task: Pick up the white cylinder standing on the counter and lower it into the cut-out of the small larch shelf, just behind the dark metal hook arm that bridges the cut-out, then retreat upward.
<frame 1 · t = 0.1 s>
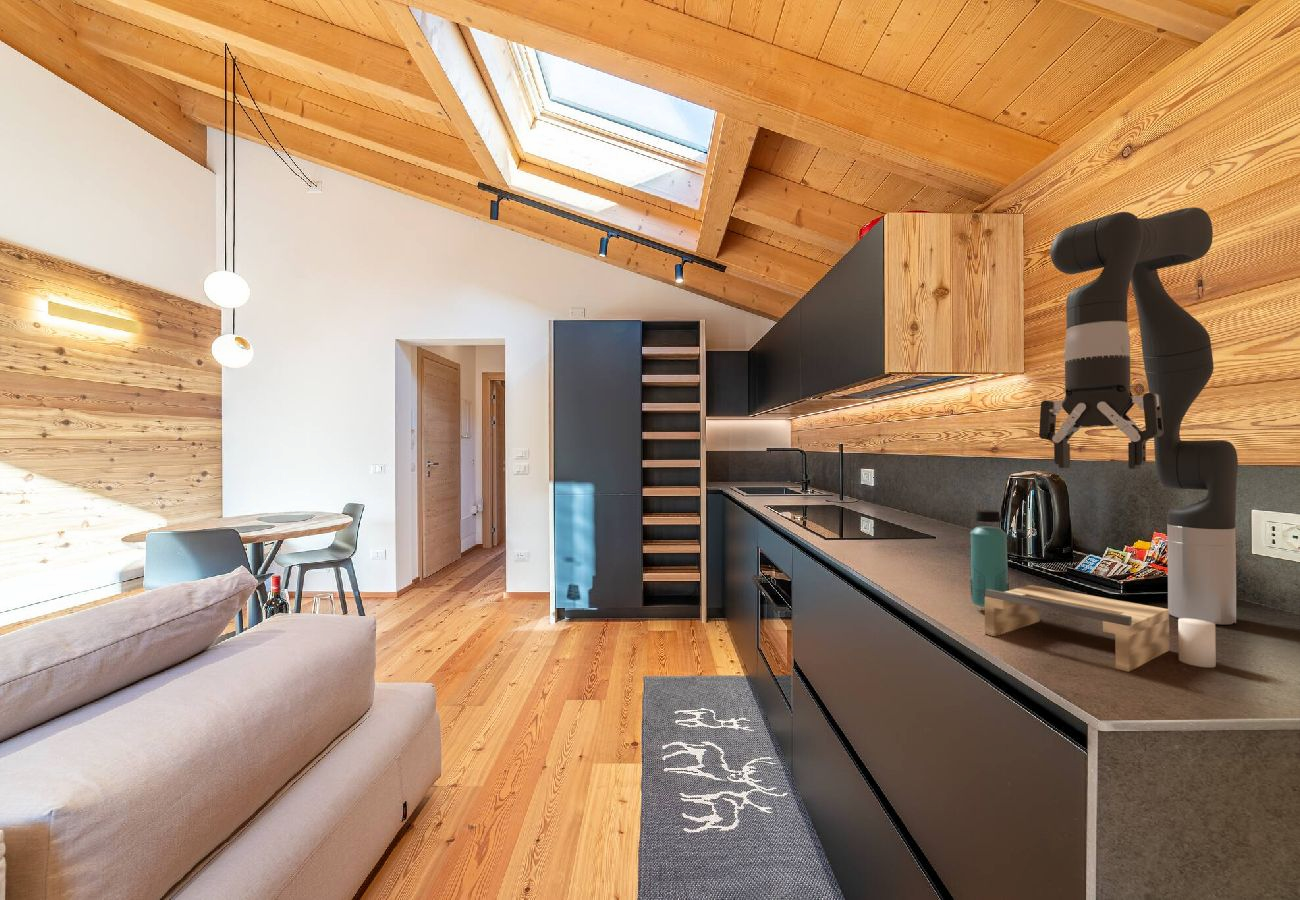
hand: (1097, 468, 83), 29 cm above the worktop, tool pointing down, fingers open, 8 cm apart
beverage bottle: (989, 612, 113), on the worktop
white cylinder: (1196, 662, 85), on the worktop
shelf: (1073, 642, 95), on the worktop
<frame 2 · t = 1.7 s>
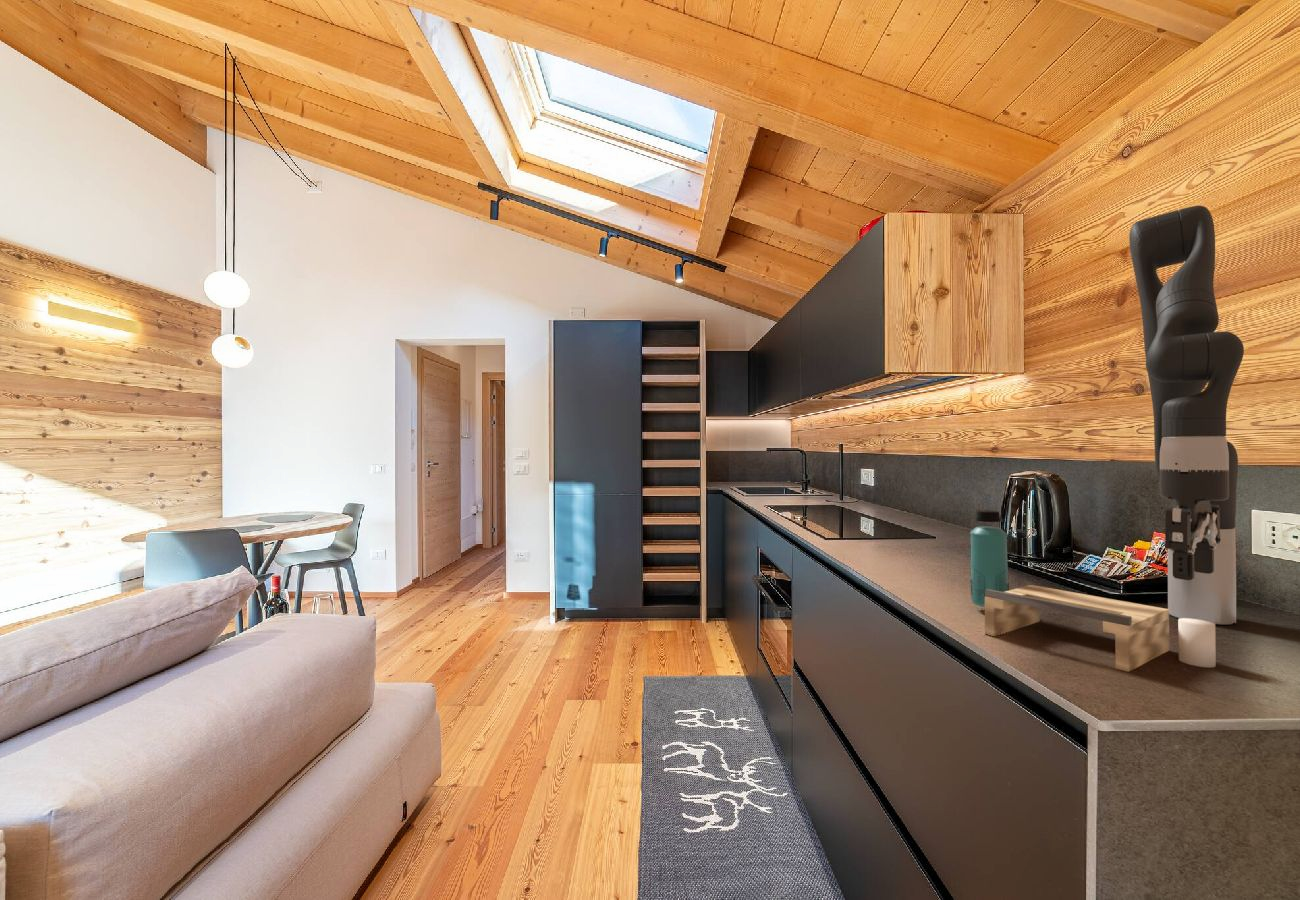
hand: (1193, 575, 85), 13 cm above the worktop, tool pointing down, fingers open, 8 cm apart
nothing on the worktop moved.
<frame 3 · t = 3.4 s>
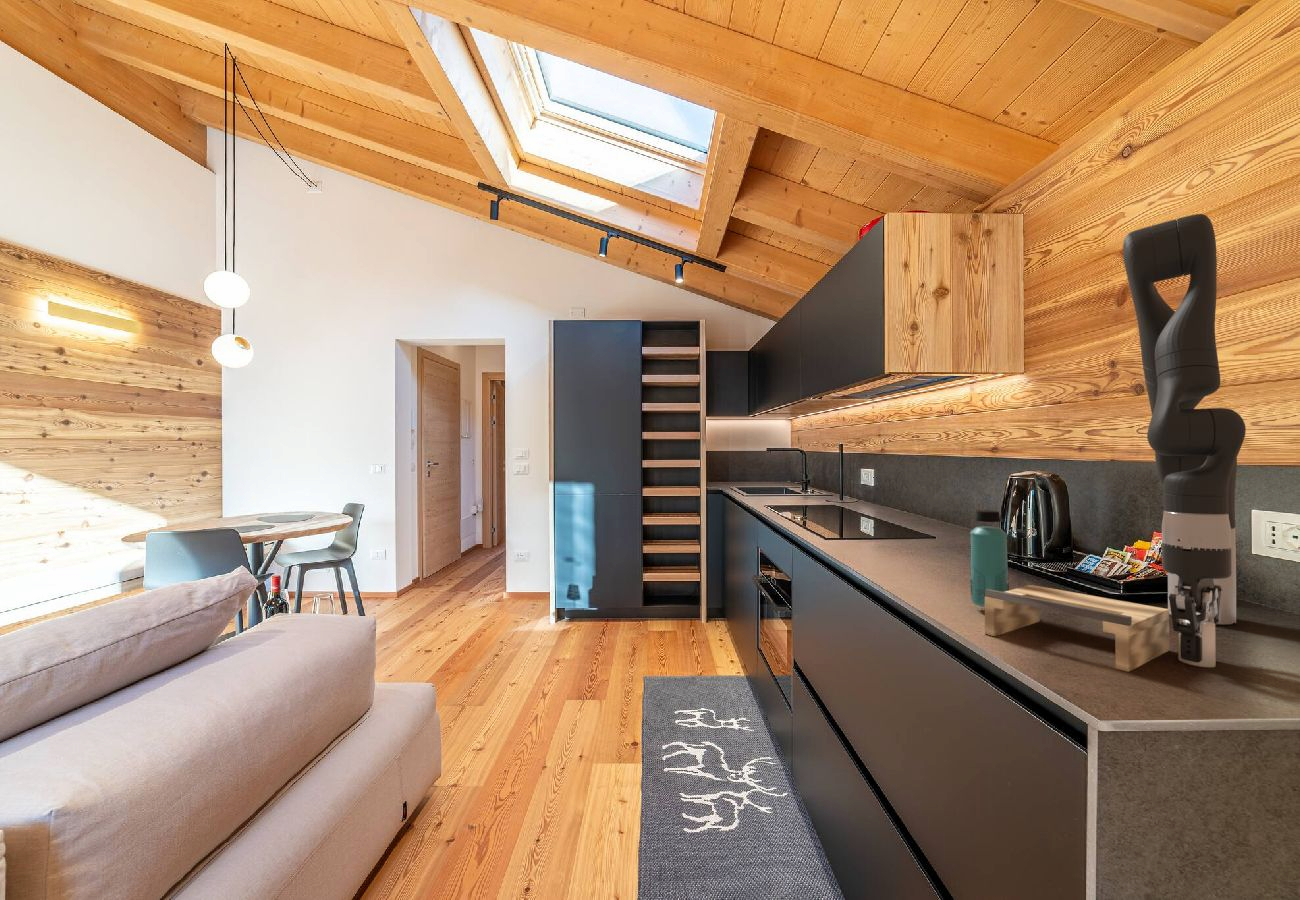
hand: (1196, 656, 85), 1 cm above the worktop, tool pointing down, fingers closed on white cylinder, 4 cm apart
white cylinder: (1196, 662, 85), on the worktop, touching gripper
everything else where it was.
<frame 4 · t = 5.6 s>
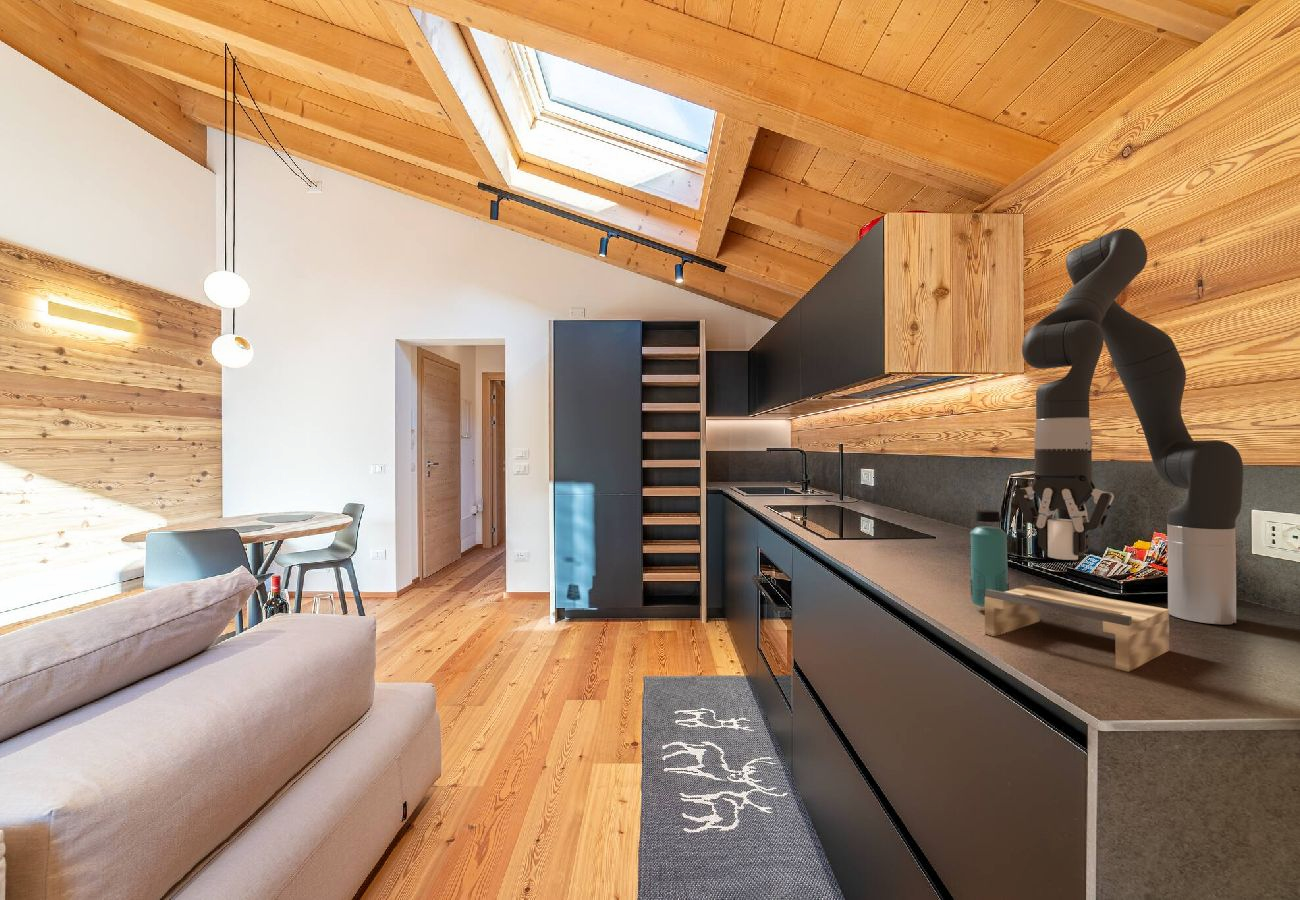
hand: (1062, 552, 93), 15 cm above the worktop, tool pointing down, fingers closed on white cylinder, 4 cm apart
white cylinder: (1062, 557, 93), point 14 cm above the worktop, touching gripper
everything else where it was.
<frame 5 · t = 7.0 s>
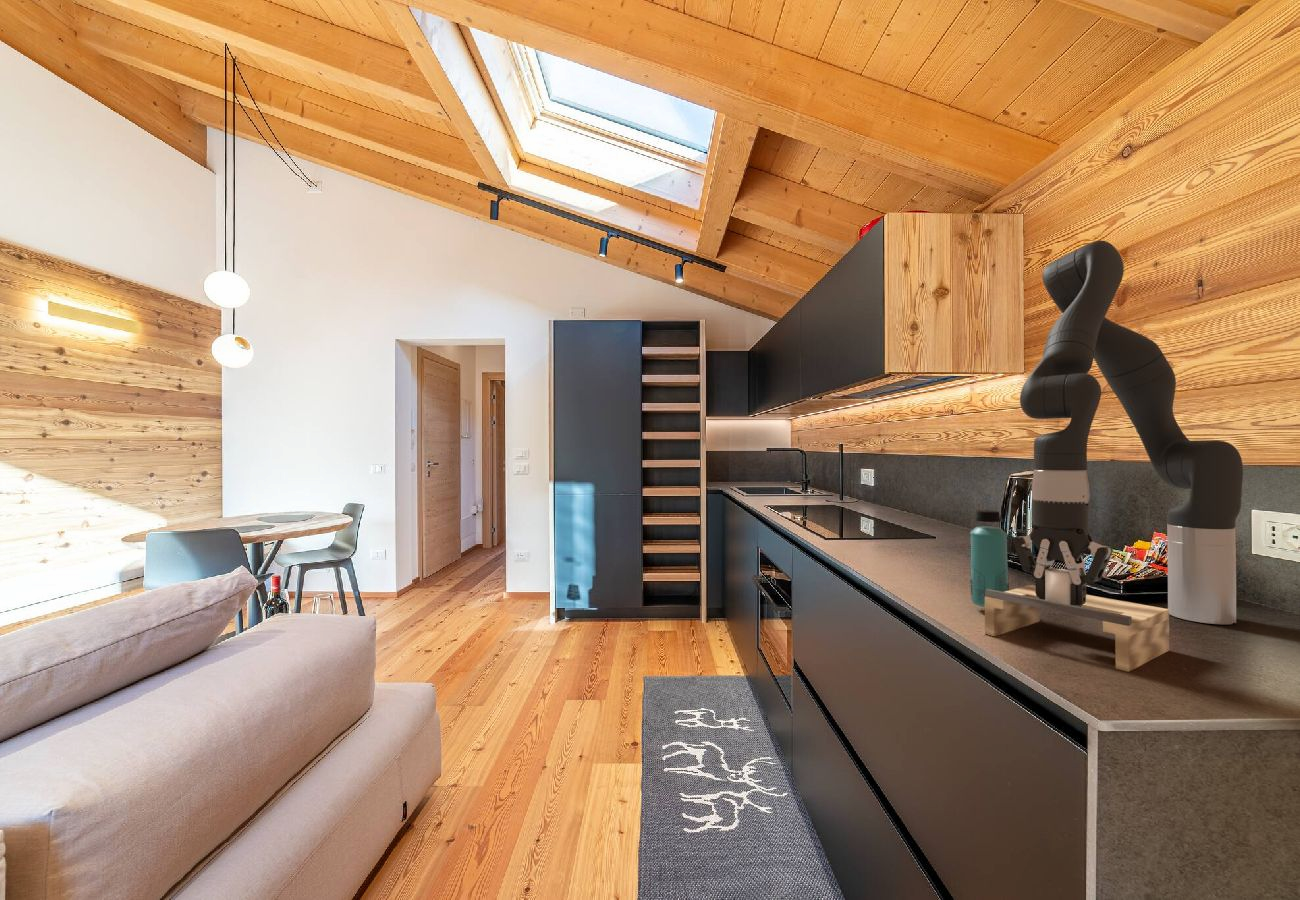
hand: (1060, 603, 93), 7 cm above the worktop, tool pointing down, fingers closed on white cylinder, 4 cm apart
white cylinder: (1060, 608, 93), point 6 cm above the worktop, touching gripper
everything else where it was.
when the fingers open (4 cm above the worktop, at t = 7.9 s): white cylinder drops 3 cm, on the worktop.
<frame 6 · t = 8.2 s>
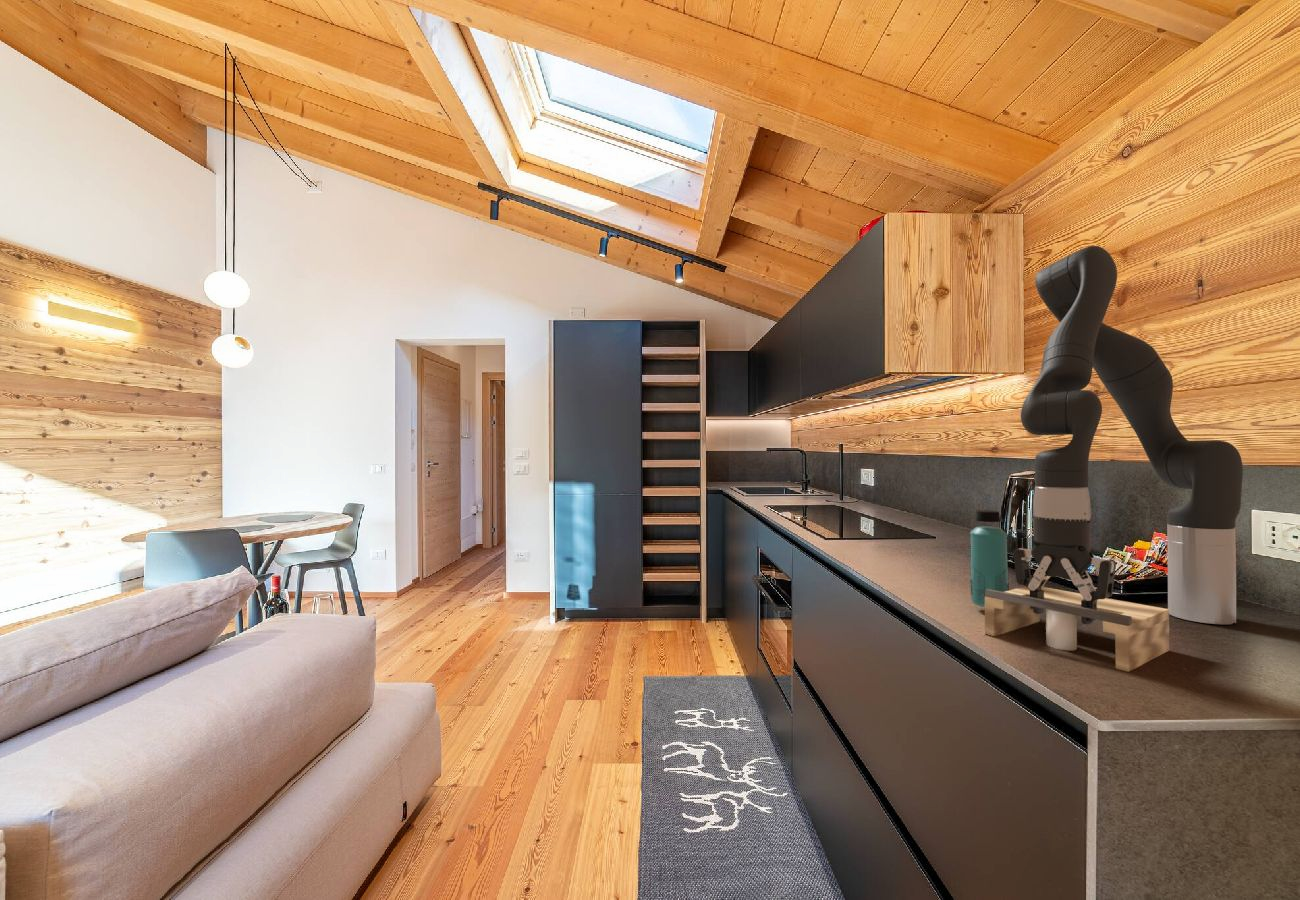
hand: (1062, 617, 93), 5 cm above the worktop, tool pointing down, fingers open, 6 cm apart
white cylinder: (1061, 646, 93), on the worktop
everything else where it was.
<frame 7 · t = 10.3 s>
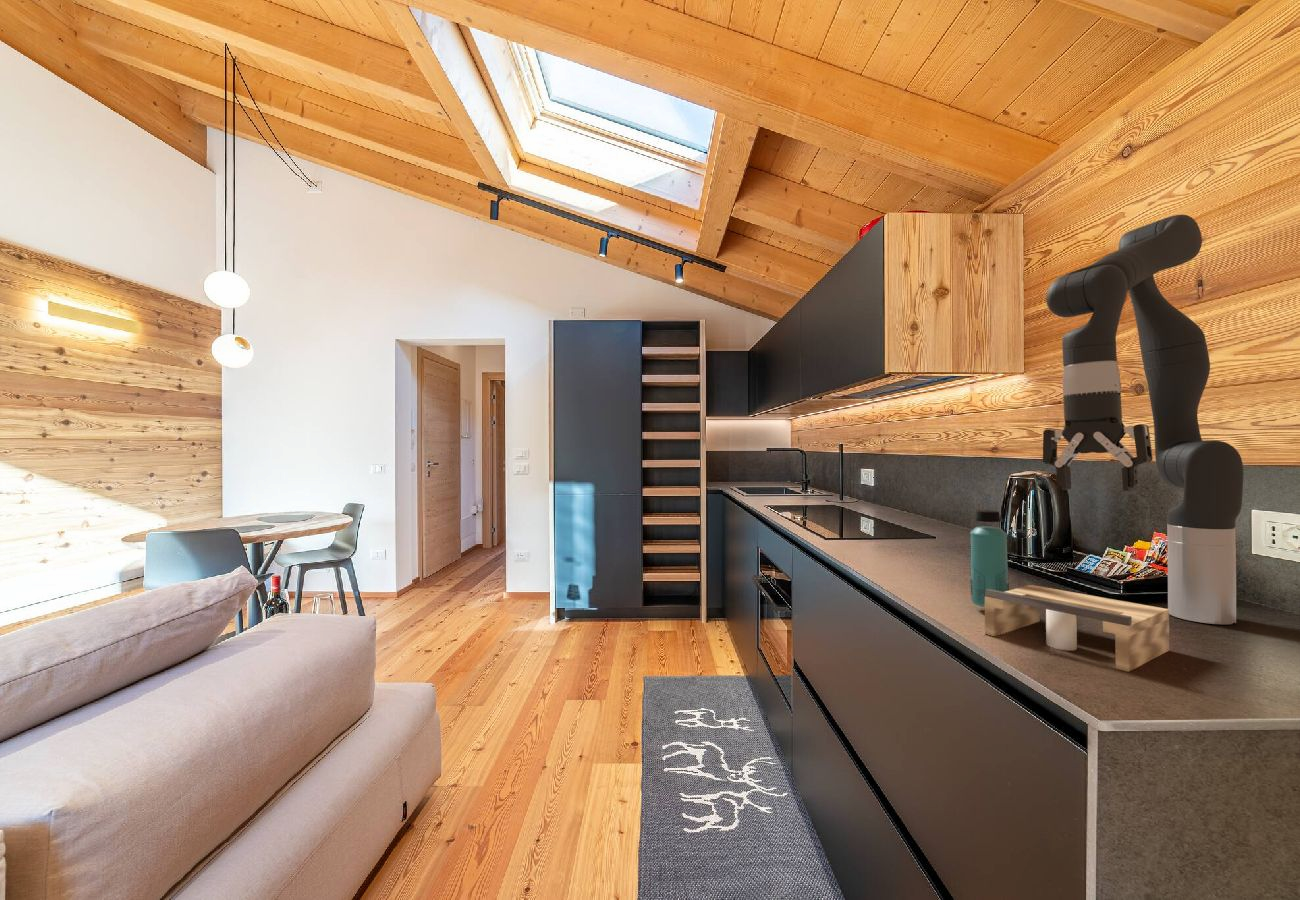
hand: (1096, 490, 94), 25 cm above the worktop, tool pointing down, fingers open, 8 cm apart
nothing on the worktop moved.
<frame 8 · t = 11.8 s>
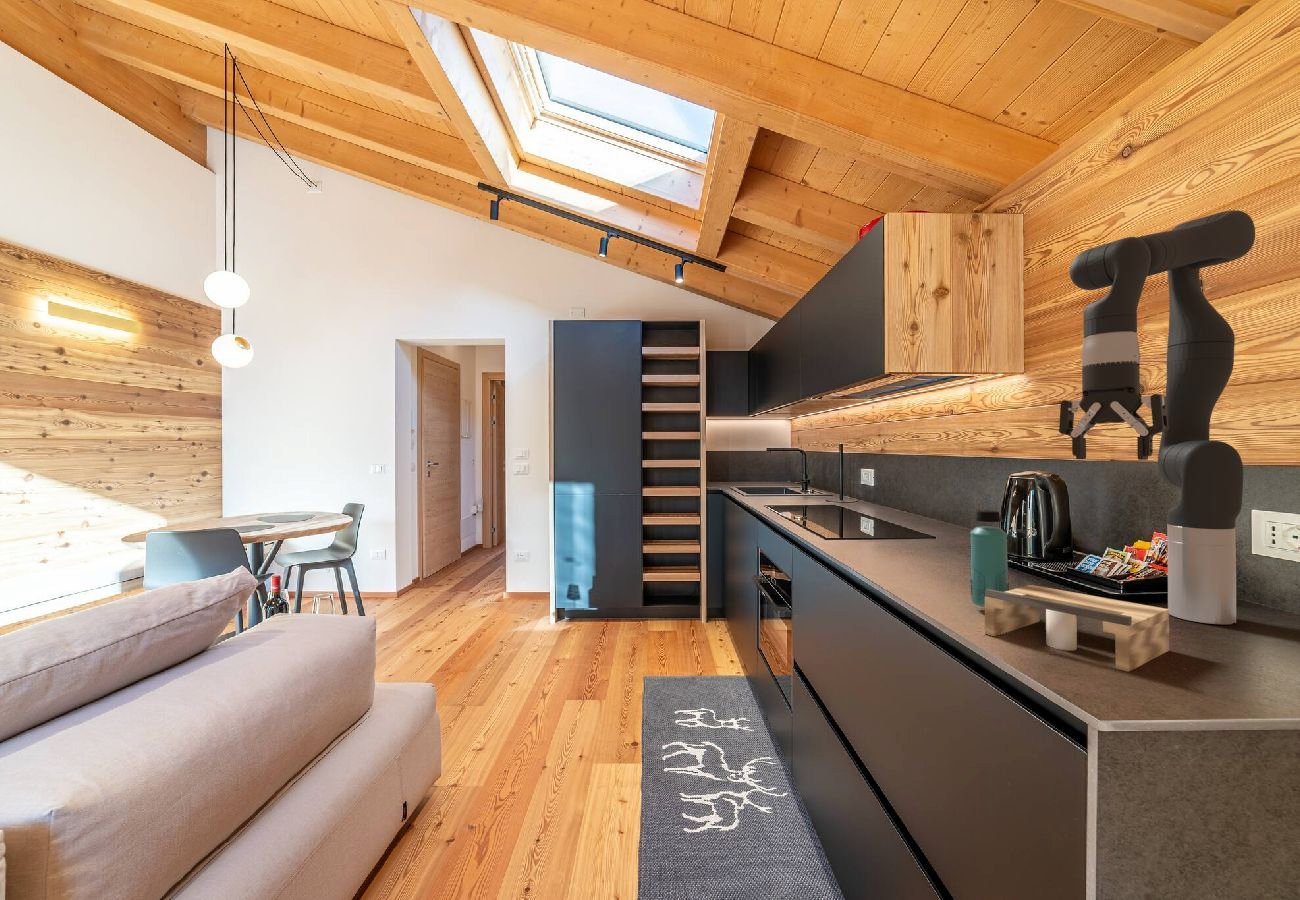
hand: (1110, 459, 96), 30 cm above the worktop, tool pointing down, fingers open, 8 cm apart
nothing on the worktop moved.
at the end: white cylinder inside the target area on the shelf (0.4 cm from its centre), point 0.0 cm above the shelf's base; white cylinder tilted 0°; the gripper is holding nothing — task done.
